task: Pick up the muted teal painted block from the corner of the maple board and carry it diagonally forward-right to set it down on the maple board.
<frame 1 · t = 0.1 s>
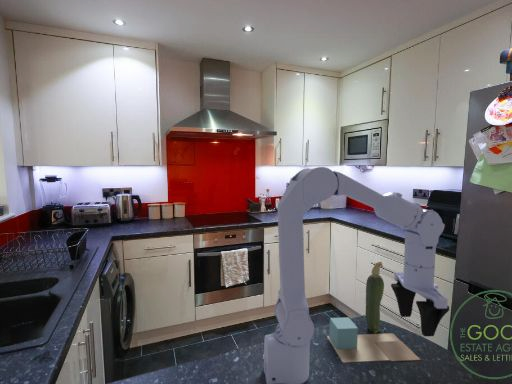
hand: (415, 325, 59), 10 cm above the countertop, tool pointing down, fingers open, 7 cm apart
teal block: (342, 342, 67), point 1 cm above the countertop, touching maple board
maple board: (369, 351, 65), on the countertop
vegetable: (373, 333, 73), on the countertop
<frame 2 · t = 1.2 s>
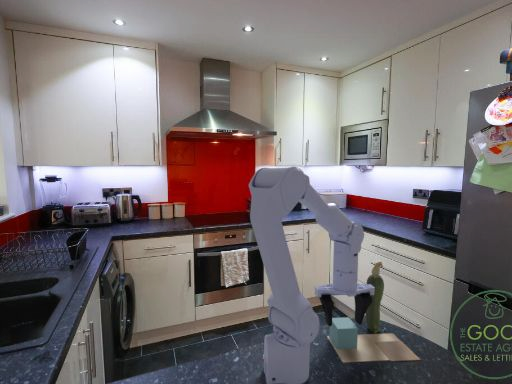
hand: (343, 323, 67), 6 cm above the countertop, tool pointing down, fingers open, 7 cm apart
nothing on the countertop moved.
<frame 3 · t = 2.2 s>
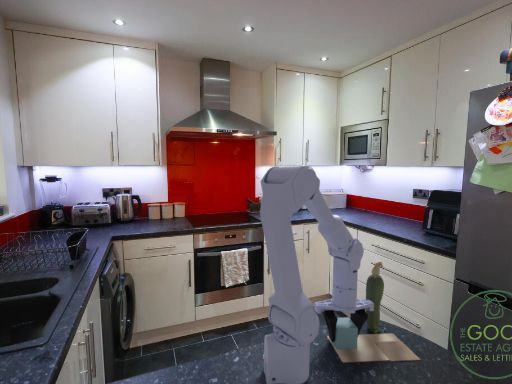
hand: (342, 339, 67), 2 cm above the countertop, tool pointing down, fingers closed on teal block, 5 cm apart
teal block: (342, 342, 67), point 1 cm above the countertop, touching gripper, maple board
everything else where it was.
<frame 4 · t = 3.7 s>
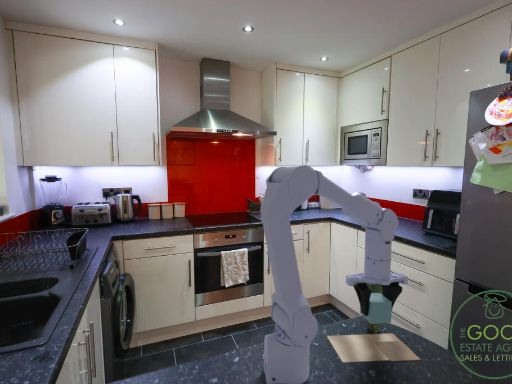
hand: (375, 313, 65), 10 cm above the countertop, tool pointing down, fingers closed on teal block, 5 cm apart
teal block: (375, 317, 65), point 8 cm above the countertop, touching gripper
everything else where it was.
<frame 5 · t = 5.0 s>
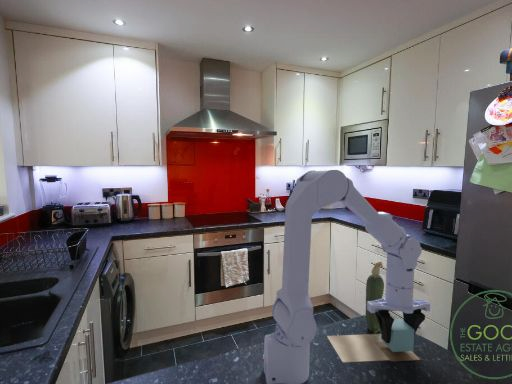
hand: (397, 340, 64), 4 cm above the countertop, tool pointing down, fingers closed on teal block, 5 cm apart
teal block: (396, 344, 64), point 3 cm above the countertop, touching gripper
everything else where it was.
when the fingers open (3 cm above the countertop, at t = 5.7 s): teal block stays where it is, resting on maple board.
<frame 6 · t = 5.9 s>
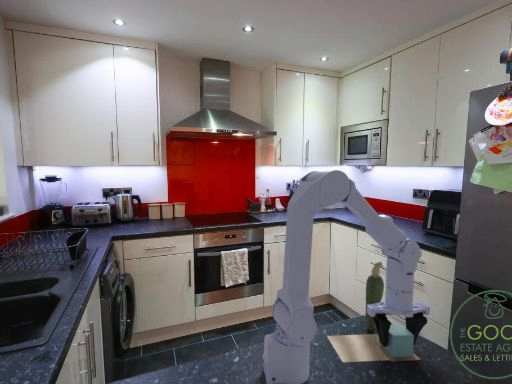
hand: (396, 343, 64), 3 cm above the countertop, tool pointing down, fingers open, 6 cm apart
teal block: (395, 349, 64), point 1 cm above the countertop, touching maple board
everything else where it was.
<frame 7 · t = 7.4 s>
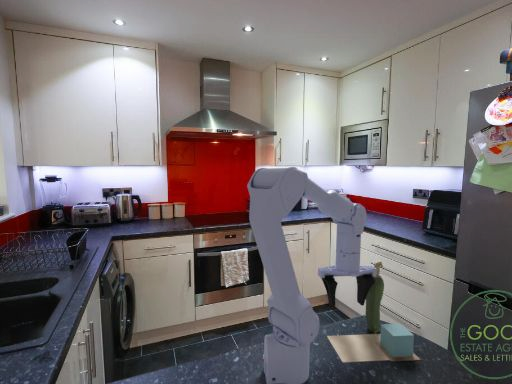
hand: (346, 304, 67), 10 cm above the countertop, tool pointing down, fingers open, 7 cm apart
nothing on the countertop moved.
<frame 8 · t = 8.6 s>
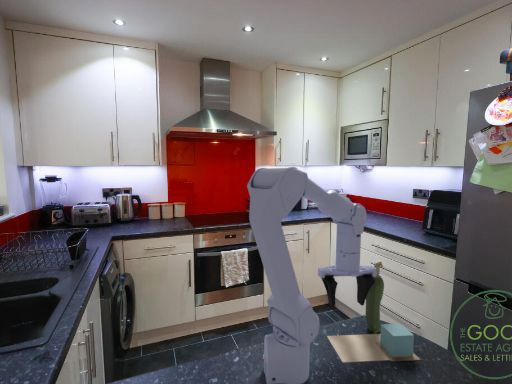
hand: (346, 304, 67), 10 cm above the countertop, tool pointing down, fingers open, 7 cm apart
nothing on the countertop moved.
at the end: teal block 0.2 cm from the target spot on the maple board, point 1.3 cm above the maple board's base; teal block tilted 0°; the gripper is holding nothing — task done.
